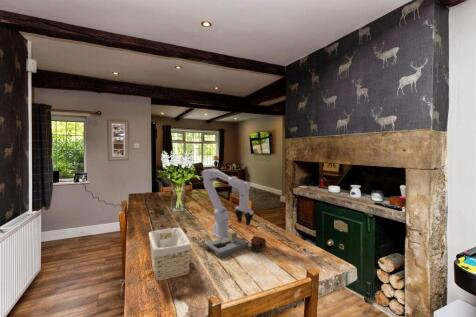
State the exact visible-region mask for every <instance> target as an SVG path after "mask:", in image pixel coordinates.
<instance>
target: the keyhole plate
mask: <svg viewBox="0 0 476 317" xmlns="http://www.w3.org/2000/svg"><path fill="white" fill-rule="evenodd" d="M248 248H249V249H250V246H249V241H246V240H244V239H242V238H241V237H238V236H237V239H236V240H234V242H233V243H231V240H230V239H228V237H225V238H219V239H217V240H213V241H209V242H206V243H204V251H206V252H208V251H214V252H215V253H216V254H217V255H216V256H217V259H219V260H222V259H224V258H227V257H229V256H232V255H234V254H238V253H241V252H242V251H246V250H249V249H248Z"/></svg>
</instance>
